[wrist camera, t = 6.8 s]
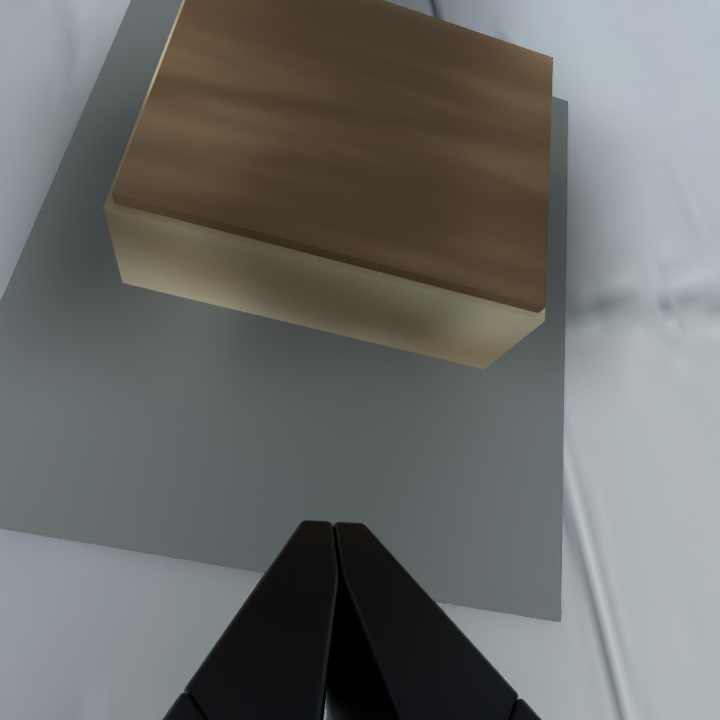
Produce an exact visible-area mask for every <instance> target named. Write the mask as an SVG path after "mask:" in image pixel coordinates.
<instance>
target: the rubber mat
mask: <svg viewBox="0 0 720 720" xmlns="http://www.w3.org/2000/svg"><path fill="white" fill-rule="evenodd" d="M181 3H182V0H131V2H130V5H129V7H128V9H127V11H126V14H125V16H124V18H123V21H122V23H121V25H120V28H119V30H118V32H117V35H116V37H115V39H114V41H113V44H112V46H111V48H110V51H109V53H108V55H107V58H106V60H105V62H104V65H103V67H102V69H101V72H100V74H99V76H98V78H97V81H96V83H95V85H94V88H93V90H92V92H91V95H90V97H89V99H88V102H87V104H86V106H85V108H84V111H83V113H82V115H81V118H80V120H79V122H78V125H77V127H76V129H75V132H74V134H73V136H72V138H71V141H70V143H69V145H68V148H67V150H66V152H65V155H64V157H63V159H62V162H61V164H60V166H59V169H58V171H57V173H56V175H55V178H54V180H53V182H52V185H51V187H50V189H49V192H48V194H47V196H46V199H45V201H44V203H43V205H42V208H41V210H40V212H39V215H38V217H37V219H36V222H35V224H34V226H33V229H32V231H31V233H30V235H29V238H28V240H27V242H26V245H25V247H24V249H23V252H22V254H21V256H20V259H19V261H18V263H17V266H16V268H15V270H14V272H13V275H12V277H11V279H10V282H9V284H8V286H7V289H6V291H5V293H4V296H3V298H2V300H1V302H0V528H1V529H7V530H13V531H19V532H25V533H31V534H37V535H43V536H49V537H55V538H61V539H67V540H73V541H79V542H85V543H91V544H97V545H103V546H108V547H114V548H120V549H126V550H132V551H138V552H144V553H150V554H156V555H162V556H168V557H174V558H180V559H186V560H192V561H198V562H204V563H210V564H216V565H222V566H228V567H234V568H240V569H246V570H252V571H258V572H263V573H266V571H267V570H268V568H269V567H270V566H271V564H272V563H273V561H274V560H275V558H276V557H277V556H278V554H279V553H280V551H281V550H282V548H283V547H284V546H285V544H286V543H287V541H288V540H289V538H290V537H291V535H292V534H293V533H294V531H295V530H296V528H297V527H298V525H299V524H300V523H301V522H302V521H304V520H315V521H329V522H331V523H332V525H334V524H335V523H336V522H354V523H363V524H365V525H366V526H367V527H368V528H369V529H370V530H371V532H372V533H373V534H374V535H375V536H376V537H377V538H378V539H379V540H380V541H381V543H382V544H383V545H384V546H385V547H386V548H387V549H388V550H389V551H390V553H391V554H392V555H393V556H394V557H395V558H396V559H397V560H398V561H399V563H400V564H401V565H402V566H403V567H404V568H405V569H406V570H407V571H408V573H409V574H410V575H411V576H412V577H413V578H414V579H415V580H416V581H417V583H418V584H419V585H420V586H421V587H422V588H423V589H424V590H425V591H426V593H427V594H428V595H429V596H430V597H431V598H432V599H433V600H434V601H436V602H442V603H448V604H454V605H460V606H466V607H472V608H478V609H484V610H490V611H496V612H502V613H508V614H514V615H520V616H526V617H532V618H538V619H544V620H550V621H557V622H561V573H562V500H563V428H564V356H565V284H566V211H567V139H568V101H565V100H562V99H559V98H555V97H552V109H551V144H550V180H549V215H548V251H547V287H546V307H545V321H544V322H543V323H542V324H541V325H539V326H538V327H537V328H536V329H534V330H533V331H532V332H531V333H529V334H528V335H527V336H526V337H524V338H523V339H522V340H521V341H519V342H518V343H517V344H516V345H514V346H513V347H512V348H510V349H509V350H508V351H507V352H505V353H504V354H503V355H502V356H500V357H499V358H498V359H497V360H495V361H494V362H493V363H492V364H490V365H489V366H488V367H487V368H485V369H481V368H477V367H473V366H468V365H464V364H460V363H456V362H452V361H447V360H443V359H439V358H435V357H431V356H427V355H422V354H418V353H414V352H410V351H406V350H401V349H397V348H393V347H389V346H385V345H380V344H376V343H372V342H368V341H364V340H360V339H355V338H351V337H347V336H343V335H339V334H334V333H330V332H326V331H322V330H318V329H313V328H309V327H305V326H301V325H297V324H293V323H288V322H284V321H280V320H276V319H272V318H267V317H263V316H259V315H255V314H251V313H246V312H242V311H238V310H234V309H230V308H226V307H221V306H217V305H213V304H209V303H205V302H200V301H196V300H192V299H188V298H184V297H179V296H175V295H171V294H167V293H163V292H158V291H154V290H150V289H146V288H142V287H138V286H133V285H129V284H125V283H122V279H121V275H120V271H119V267H118V264H117V260H116V256H115V252H114V248H113V244H112V240H111V236H110V232H109V229H108V225H107V221H106V217H105V213H104V209H103V206H104V204H105V201H106V198H107V196H108V193H109V191H110V188H111V185H112V183H113V180H114V178H115V175H116V172H117V170H118V167H119V165H120V162H121V159H122V157H123V154H124V152H125V149H126V146H127V144H128V141H129V138H130V136H131V133H132V131H133V128H134V125H135V123H136V120H137V118H138V115H139V112H140V110H141V107H142V105H143V102H144V99H145V97H146V94H147V92H148V89H149V86H150V84H151V81H152V79H153V76H154V73H155V71H156V68H157V66H158V63H159V60H160V58H161V55H162V53H163V50H164V47H165V45H166V42H167V40H168V37H169V34H170V32H171V29H172V27H173V24H174V21H175V19H176V16H177V13H178V11H179V8H180V6H181Z"/></svg>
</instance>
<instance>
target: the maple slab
mask: <svg viewBox="0 0 720 720" xmlns="http://www.w3.org/2000/svg"><path fill="white" fill-rule="evenodd" d="M552 73H553V58H552V57H549V56H546V55H543V54H540V53H537V52H535V51H532V50H529V49H526V48H523V47H520V46H517V45H514V44H511V43H508V42H505V41H502V40H499V39H496V38H493V37H490V36H487V35H484V34H481V33H478V32H475V31H472V30H469V29H466V28H463V27H460V26H458V25H455V24H452V23H449V22H446V21H443V20H440V19H437V18H434V17H431V16H428V15H425V14H422V13H419V12H416V11H413V10H410V9H407V8H404V7H401V6H398V5H395V4H392V3H389V2H386V1H384V0H182V3H181V6H180V8H179V11H178V13H177V16H176V19H175V21H174V24H173V27H172V29H171V32H170V34H169V37H168V40H167V42H166V45H165V47H164V50H163V53H162V55H161V58H160V60H159V63H158V66H157V68H156V71H155V73H154V76H153V79H152V81H151V84H150V86H149V89H148V92H147V94H146V97H145V99H144V102H143V105H142V107H141V110H140V112H139V115H138V118H137V120H136V123H135V125H134V128H133V131H132V133H131V136H130V138H129V141H128V144H127V146H126V149H125V152H124V154H123V157H122V159H121V162H120V165H119V167H118V170H117V172H116V175H115V178H114V180H113V183H112V185H111V188H110V191H109V193H108V196H107V198H106V201H105V204H104V206H103V209H104V213H105V217H106V221H107V225H108V229H109V232H110V236H111V240H112V244H113V248H114V252H115V256H116V260H117V264H118V267H119V271H120V275H121V279H122V283H125V284H129V285H133V286H138V287H142V288H146V289H150V290H154V291H158V292H163V293H167V294H171V295H175V296H179V297H184V298H188V299H192V300H196V301H200V302H205V303H209V304H213V305H217V306H221V307H226V308H230V309H234V310H238V311H242V312H246V313H251V314H255V315H259V316H263V317H267V318H272V319H276V320H280V321H284V322H288V323H293V324H297V325H301V326H305V327H309V328H313V329H318V330H322V331H326V332H330V333H334V334H339V335H343V336H347V337H351V338H355V339H360V340H364V341H368V342H372V343H376V344H380V345H385V346H389V347H393V348H397V349H401V350H406V351H410V352H414V353H418V354H422V355H427V356H431V357H435V358H439V359H443V360H447V361H452V362H456V363H460V364H464V365H468V366H473V367H477V368H481V369H485V368H487V367H488V366H489V365H490V364H492V363H493V362H494V361H495V360H497V359H498V358H499V357H500V356H502V355H503V354H504V353H505V352H507V351H508V350H509V349H510V348H512V347H513V346H514V345H516V344H517V343H518V342H519V341H521V340H522V339H523V338H524V337H526V336H527V335H528V334H529V333H531V332H532V331H533V330H534V329H536V328H537V327H538V326H539V325H541V324H542V323H543V322H544V321H545V307H546V287H547V251H548V215H549V180H550V144H551V109H552Z"/></svg>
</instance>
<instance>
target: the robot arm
mask: <svg viewBox="0 0 720 720" xmlns="http://www.w3.org/2000/svg"><path fill="white" fill-rule="evenodd" d="M325 700H326V709H327V720H541V719H540V717H539V716H538V715H537V714H536V713H535V712H534V711H533V710H532V709H531V707H530V706H529V705H528V704H527V703H526V702H525V701H524V700H523V699H518V694H517V692H516V691H515V690H514V689H513V688H512V687H511V686H510V685H509V683H508V682H507V681H506V680H505V679H504V678H503V677H502V676H501V675H500V673H499V672H498V671H497V670H496V669H495V668H494V667H493V666H492V665H491V663H490V662H489V661H488V660H487V659H486V658H485V657H484V656H483V655H482V654H481V652H480V651H479V650H478V649H477V648H476V647H475V646H474V645H473V644H472V642H471V641H470V640H469V639H468V638H467V637H466V636H465V635H464V634H463V632H462V631H461V630H460V629H459V628H458V627H457V626H456V625H455V624H454V622H453V621H452V620H451V619H450V618H449V617H448V616H447V615H446V614H445V612H444V611H443V610H442V609H441V608H440V607H439V606H438V605H437V604H436V602H435V601H434V600H433V599H432V598H431V597H430V596H429V595H428V594H427V593H426V591H425V590H424V589H423V588H422V587H421V586H420V585H419V584H418V583H417V581H416V580H415V579H414V578H413V577H412V576H411V575H410V574H409V573H408V571H407V570H406V569H405V568H404V567H403V566H402V565H401V564H400V563H399V561H398V560H397V559H396V558H395V557H394V556H393V555H392V554H391V553H390V551H389V550H388V549H387V548H386V547H385V546H384V545H383V544H382V543H381V541H380V540H379V539H378V538H377V537H376V536H375V535H374V534H373V533H372V532H371V530H370V529H369V528H368V527H367V526H366V525H365V524H363V523H354V522H336V523H335V524H334V525H332V523H331V522H329V521H315V520H304V521H302V522H301V523H300V524H299V525H298V527H297V528H296V530H295V531H294V533H293V534H292V535H291V537H290V538H289V540H288V541H287V543H286V544H285V546H284V547H283V548H282V550H281V551H280V553H279V554H278V556H277V557H276V558H275V560H274V561H273V563H272V564H271V566H270V567H269V568H268V570H267V571H266V573H265V574H264V576H263V577H262V578H261V580H260V581H259V583H258V584H257V586H256V587H255V588H254V590H253V591H252V593H251V594H250V596H249V597H248V599H247V600H246V601H245V603H244V604H243V606H242V607H241V609H240V610H239V611H238V613H237V614H236V616H235V617H234V619H233V620H232V621H231V623H230V624H229V626H228V627H227V629H226V630H225V631H224V633H223V634H222V636H221V637H220V639H219V640H218V641H217V643H216V644H215V646H214V647H213V649H212V650H211V652H210V653H209V654H208V656H207V657H206V659H205V660H204V662H203V663H202V664H201V666H200V667H199V669H198V670H197V672H196V673H195V674H194V676H193V677H192V679H191V680H190V682H189V683H188V684H187V686H186V687H185V690H184V693H182V694H180V695H179V697H178V698H177V700H176V701H175V702H174V704H173V705H172V707H171V708H170V710H169V711H168V713H167V714H166V715H165V717H164V718H163V720H323V717H324V708H325Z"/></svg>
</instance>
